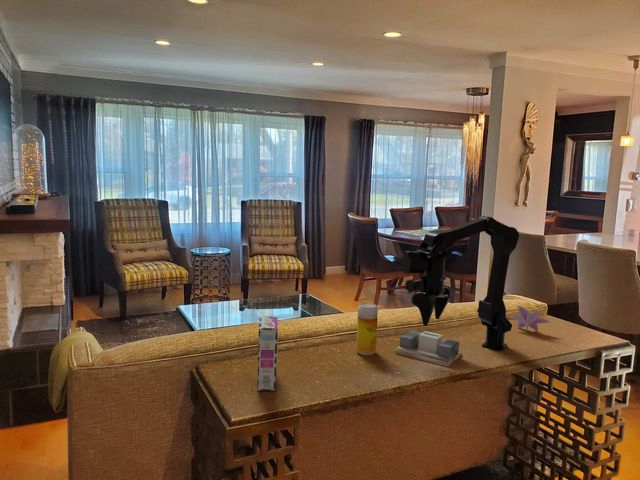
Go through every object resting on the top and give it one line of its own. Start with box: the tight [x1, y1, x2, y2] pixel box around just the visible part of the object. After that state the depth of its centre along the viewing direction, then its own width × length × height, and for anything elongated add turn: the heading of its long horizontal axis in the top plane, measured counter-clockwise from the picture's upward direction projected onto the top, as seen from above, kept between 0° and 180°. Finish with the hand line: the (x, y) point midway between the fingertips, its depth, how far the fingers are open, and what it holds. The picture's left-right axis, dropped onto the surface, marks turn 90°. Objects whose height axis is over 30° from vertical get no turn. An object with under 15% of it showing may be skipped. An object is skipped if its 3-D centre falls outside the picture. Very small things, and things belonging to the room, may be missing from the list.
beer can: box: [355, 302, 379, 356], centre depth 156 cm, size 6×6×15 cm
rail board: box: [395, 330, 462, 367], centre depth 156 cm, size 12×16×5 cm
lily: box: [509, 305, 550, 336], centre depth 181 cm, size 12×12×10 cm
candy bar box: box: [257, 316, 279, 392], centre depth 132 cm, size 11×5×16 cm, turn 5°
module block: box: [418, 330, 444, 354], centre depth 157 cm, size 4×6×5 cm
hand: (431, 322), depth 156 cm, fingers open, 9 cm apart
